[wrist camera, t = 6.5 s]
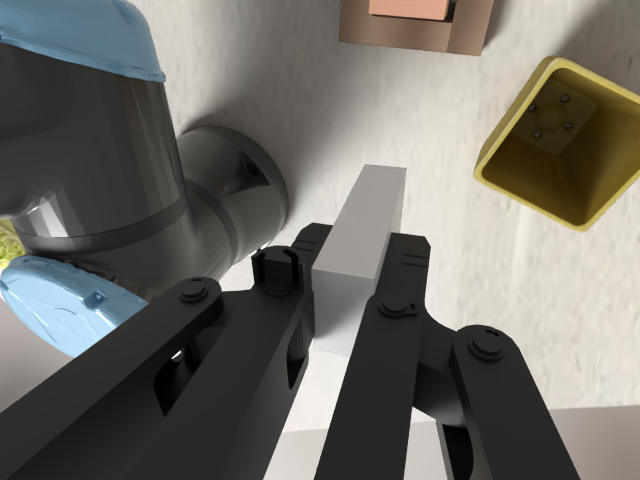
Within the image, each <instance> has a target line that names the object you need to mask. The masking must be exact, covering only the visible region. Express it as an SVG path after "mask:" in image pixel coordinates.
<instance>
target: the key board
mask: <svg viewBox="0 0 640 480" xmlns="http://www.w3.org/2000/svg"><path fill="white" fill-rule="evenodd" d="M493 3H494V0H457V2H456V7H455V12H454V17H453V21H451V20H437V19H425V18H414V17H402V16H391V15H379V14H369V4H370V0H341V14H340V29H339V42H348V43H357V44H367V45H376V46H386V47H395V48H405V49H415V50H424V51H434V52H443V53H453V54H463V55H472V56H481V52H482V48H483V44H484V40H485V36H486V32H487V28H488V23H489V19H490V15H491V11H492V7H493Z"/></svg>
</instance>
